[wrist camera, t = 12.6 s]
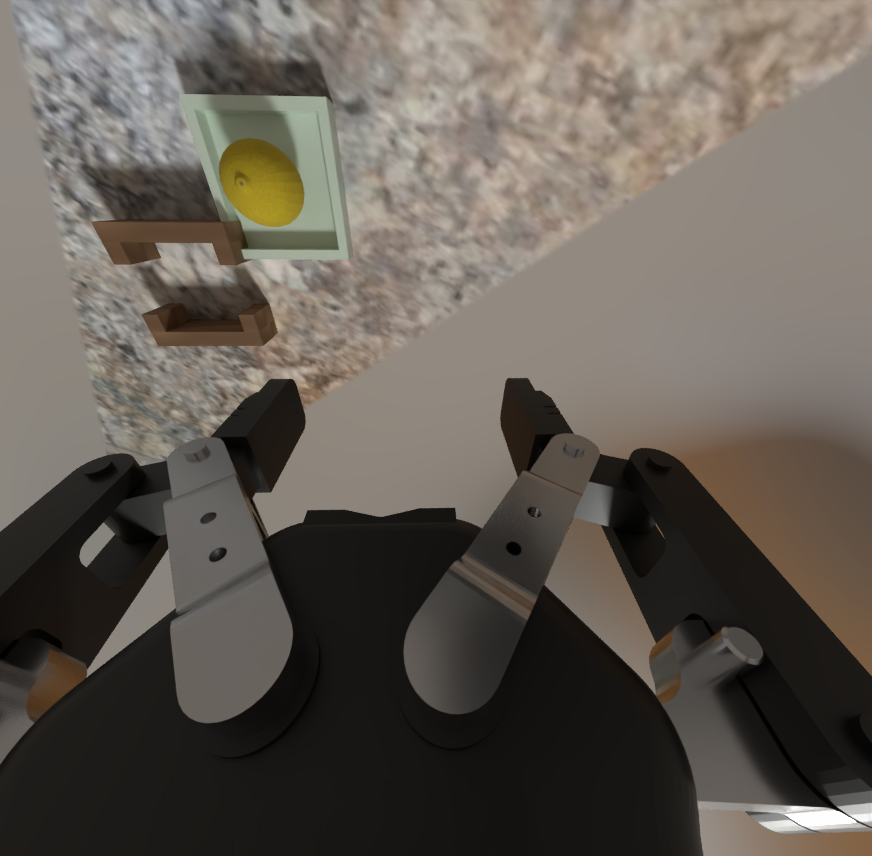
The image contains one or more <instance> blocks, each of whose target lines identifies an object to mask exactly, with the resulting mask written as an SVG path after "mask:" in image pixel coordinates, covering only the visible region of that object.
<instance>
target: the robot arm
mask: <svg viewBox="0 0 872 856" xmlns="http://www.w3.org/2000/svg"><path fill="white" fill-rule="evenodd" d="M500 419H501V420H500V421H501V428H502V431H503V434H504V437H505V440H506V443H507V446H508V449H509V452H510V455H511V458H512V461H513V464H514V467H515V470H516V473H517V476H518V478H517V480H516V481H515V483H514V484H513V486H512V487H511V489H510V490H509V491H508V493H507V494H506V496H505V497H504V498H503V500H502V502H501V503H500V504H499V506H498V507H497V508H496V510H495V511H494V513H493V514H492V515H491V517H490V518H489V520H488V521H487V523H486V524H485V525H484V527H483V528H480V527H478V526H476V525H474V524H472V523H469V522H466V521H462V520H458V519H456V512H455V508H419V509H415V510H411V511H406V512H402V513H398V514H393V515H389V516H384V517H376V516H372V515H367V514H362V513H357V512H352V511H348V510H308V511H307V513H306V516H305V519H304V522H303V523H299V524H296V525H293V526H290V527H287V528H285V529H283V530H280V531H278V532H277V533H275V534H273V535H271V536H270V537H269V535H268V533H267V530H266V528H265V525H264V523H263V521H262V519H261V516H260V514H259V511H258V509H257V507H256V504H255V502H254V500H253V499H252V498H253V496H254V495H255V493H262V492H272V489H273V488H274V486H275V483H276V482H277V480H278V478H279V476H280V474H281V472H282V471H283V469H284V467H285V465H286V463H287V461H288V459H289V457H290V455H291V453H292V452H293V450H294V448H295V446H296V444H297V442H298V440H299V438H300V436H301V435H302V433H303V431H304V428H305V413H304V410H303V406H302V403H301V399H300V396H299V393H298V389H297V386H296V383H295V381H294V380H293V379H270V380H269V381H268V382H267V383H266V384H265V385H264V387H263V388H262V389H261V390H260V391H259V392H256V393H254V394H253V395H251V396H249V397H248V398H246V399H244V401H243V402H242V403H241V404H240V405H239V406H238V407H237V410H234V412H233V413H232V414H231V417H228V418H227V419H226V420H225V422H224V423H223V424H222V425H221V426H220V427H219V428H218V429H217V430H216V432H215V433H214V434H213V435H212V436H211V437H205V438H199V439H195V440H192V441H190V442H187V443H185V444H183V445H181V446H179V447H178V448H176V449H175V450H174V451H173V452H172V453H171V454H170V455H169V456H168V458H167V461H164V462H159V463H154V464H149V465H144V466H140V465H139V464H138V463H137V461H136V460H135V459H134V458H133V456H131V455H129V454H112V455H107V456H104V457H101V458H98V459H95V460H92V461H90V462H88V463H86V464H84V465H82V466H81V467H79V468H77V469H76V470H75V471H73V472H72V473H71V474H70V475H68V476H67V477H66V478H65V479H64V480H62V481H61V482H60V483H59V484H58V485H56V486H55V487H54V488H53V489H52V490H50V491H49V492H48V493H47V494H45V495H44V496H43V497H42V498H41V499H39V500H38V501H37V502H36V503H35V504H34V505H32V506H31V507H30V508H29V509H28V510H26V511H25V512H24V513H23V514H21V515H20V516H19V517H18V518H17V519H15V520H14V521H13V522H12V523H11V524H9V525H8V526H7V527H6V528H4V529H3V530H2V531H1V532H0V856H703V850H702V844H701V837H700V824H699V812H698V809H714V810H733V811H734V810H735V811H745V812H746V813H747V814H748V815H750V816H751V817H752V818H753V819H755V820H756V821H757V822H758V823H760V824H761V825H763V826H765V827H766V828H768V829H770V830H772V831H775V832H778V833H782V834H808V833H832V832H858V831H872V676H871V675H870V674H869V673H868V672H867V671H866V669H865V668H864V667H863V666H862V665H861V664H860V663H859V661H858V660H857V659H856V658H855V657H854V656H853V655H852V654H851V653H850V651H849V650H848V649H847V648H846V647H845V646H844V645H843V643H842V642H841V641H840V640H839V639H838V638H837V637H836V636H835V634H834V633H833V632H832V631H831V630H830V629H829V628H828V627H827V626H826V624H825V623H824V622H823V621H822V620H821V619H820V618H819V616H818V615H817V614H816V613H815V612H814V611H813V610H812V609H811V607H810V606H809V605H808V604H807V603H806V602H805V601H804V600H803V599H802V597H801V596H800V595H799V594H798V593H797V592H796V590H795V589H794V588H793V587H792V586H791V585H790V584H789V583H788V581H787V580H786V579H785V578H784V577H783V576H782V575H781V574H780V573H779V571H778V570H777V569H776V568H775V567H774V566H773V565H772V563H771V562H770V561H769V560H768V559H767V558H766V557H765V556H764V554H763V553H762V552H761V551H760V550H759V549H758V548H757V547H756V545H755V544H754V543H753V542H752V541H751V540H750V539H749V538H748V536H747V535H746V534H745V533H744V532H743V531H742V530H741V529H740V527H739V526H738V525H737V524H736V523H735V522H734V521H733V520H732V518H731V517H730V516H729V515H728V514H727V513H726V512H725V511H724V509H723V508H722V507H721V506H720V505H719V504H718V503H717V501H716V500H715V499H714V498H713V497H712V496H711V495H710V494H709V493H708V491H707V490H706V489H705V488H704V487H703V486H702V485H701V483H699V481H698V480H697V479H696V478H695V477H694V476H693V474H692V473H691V472H690V471H689V470H688V469H687V468H686V467H685V465H684V464H683V463H681V462H680V461H679V460H678V459H676V458H675V457H673V456H671V455H669V454H667V453H665V452H662V451H660V450H656V449H651V448H640V449H637V450H634V451H633V452H632V454H631V455H630V457H629V460H625V459H620V458H615V457H611V456H606V455H602V454H600V451H599V449H598V447H597V446H596V445H595V444H594V443H593V442H592V441H590V440H588V439H587V438H585V437H582V436H579V435H575V434H574V433H573V432H572V430H571V428H570V427H569V425H568V424H567V422H566V421H565V419H564V417H563V416H562V414H560V411H559V410H558V408H556V405H555V403H554V402H553V400H552V398H551V397H549V396H548V395H546V394H545V393H544V392H542V391H535V390H534V388H533V386H532V384H531V383H530V381H529V380H528V378H508V379H507V380H506V383H505V389H504V396H503V402H502V409H501V417H500ZM573 518H577V519H580V520H585V521H588V522H593V523H597V524H600V525H601V526H602V528H603V530H604V532H605V535H606V537H607V539H608V541H609V543H610V545H611V548H612V549H613V552H614V554H615V556H616V558H617V561H618V563H619V564H620V567H621V569H622V571H623V573H624V575H625V578H626V580H627V582H628V584H629V586H630V588H631V590H632V593H633V595H634V597H635V599H636V601H637V603H638V605H639V607H640V610H641V612H642V614H643V616H644V618H645V620H646V623H647V624H648V627H649V629H650V631H651V633H652V635H653V637H654V640H655V642H656V644H655V645H654V646H653V647H652V649H651V651H650V656H649V664H650V670H651V673H652V676H653V679H654V683H655V689H656V695H655V694H654V693H653V691H652V690H651V689H650V688H649V686H648V685H647V684H646V683H645V682H644V681H643V680H642V679H641V678H640V676H639V675H638V674H637V673H636V672H635V671H634V670H633V669H632V668H631V667H629V666H628V665H627V664H626V663H625V662H624V661H623V660H622V659H621V658H620V657H619V656H618V655H617V654H616V653H615V652H614V651H613V650H612V649H611V648H610V647H609V646H608V645H607V644H605V643H604V642H603V641H602V640H601V639H600V638H599V637H598V636H597V635H596V634H595V633H594V632H593V631H592V630H591V629H590V628H589V627H588V626H587V625H586V624H585V623H584V622H583V621H581V620H580V619H579V618H578V617H577V616H576V615H575V614H574V613H573V612H572V611H571V610H570V609H569V608H568V607H567V606H566V605H565V604H564V603H563V602H562V601H561V600H560V599H558V598H557V597H556V596H555V595H554V594H553V593H552V592H551V591H550V590H549V589H548V588H547V587H546V586H545V585H544V584H545V582H546V579H547V577H548V575H549V572H550V570H551V568H552V566H553V563H554V561H555V559H556V556H557V554H558V552H559V549H560V547H561V545H562V542H563V540H564V538H565V536H566V533H567V531H568V529H569V526H570V524H571V522H572V520H573ZM103 522H104V523H105V524H106V525H107V526H108V527H109V528H110V529H111V530H112V531H113V532H114V533H115V535H114V536H113V537H112V539H111V540H110V541H109V542H108V543H107V544H106V546H105V547H104V548H103V549H102V550H101V551H100V553H99V554H98V555H97V556H96V557H95V558H94V560H93V561H92V562H91V563H90V564H89V565H88V567H87V568H86V567H85V566H84V565H83V564H82V563H81V562H80V558H79V555H80V550H81V548H82V546H83V544H84V543H85V541H86V540H87V539H88V538H89V537H90V536H91V535H92V534H93V533H94V532H95V531H96V530H97V529H98V527H99V526H100V525H101V524H102V523H103ZM655 524H657V525H658V527H659V528H660V530H661V532H662V533H663V535H664V538H665V539H664V538H663V536H662V535H661V533H660V532H659V530H658V529H657V527H656V525H655ZM168 548H169V555H170V564H171V572H172V579H173V588H174V596H175V604H176V609H174V610H173V611H172V612H170V613H169V614H168V615H167V616H165V617H164V618H163V619H161V620H160V621H159V622H158V623H156V624H155V625H154V626H152V627H151V628H150V629H149V630H147V631H146V632H145V633H144V634H142V635H141V636H140V637H138V638H137V639H136V640H134V641H133V642H132V643H131V644H129V645H128V646H127V647H126V648H124V649H123V650H122V651H120V652H119V653H118V654H116V655H115V656H114V657H113V658H111V659H110V660H109V661H107V662H106V663H105V664H104V665H102V666H101V667H100V668H99V669H97V670H96V671H95V672H93V673H92V674H91V675H90V676H88V677H87V678H86V676H87V669H88V668H89V666H90V665H91V663H92V662H93V660H94V659H95V657H96V656H97V654H98V653H99V651H100V650H101V648H102V647H103V645H104V644H105V642H106V641H107V639H108V638H109V636H110V635H111V633H112V632H113V630H114V629H115V627H116V626H117V624H118V623H119V621H120V620H121V618H122V617H123V615H124V614H125V612H126V611H127V609H128V608H129V606H130V605H131V603H132V602H133V600H134V599H135V597H136V596H137V594H138V593H139V591H140V590H141V588H142V587H143V585H144V584H145V582H146V581H147V579H148V578H149V576H150V575H151V573H152V572H153V570H154V569H155V567H156V566H157V564H158V563H159V561H160V560H161V558H162V557H163V555H164V554H165V552H166V551H167V550H168Z"/></svg>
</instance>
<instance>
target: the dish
mask: <svg viewBox="0 0 872 856" xmlns="http://www.w3.org/2000/svg"><path fill="white" fill-rule="evenodd" d="M178 95H179V98H180V101H181V104H182V107H183V109H184V112H185V115H186V118H187V121H188V124H189V127H190V130H191V133H192V136H193V139H194V142H195V145H196V148H197V151H198V154H199V157H200V160H201V163H202V166H203V169H204V172H205V175H206V178H207V181H208V184H209V187H210V190H211V193H212V196H213V199H214V202H215V205H216V208H217V211H218V214H219V217H220V220H221V222H232V221H241V225H242V228H243V231H244V234H245V238H246V241H247V244H248V248H245V249H241V250H242V253H243V257H244V259H332V260H349V259H350V258H351V257H353V250H352V243H351V235H350V228H349V220H348V213H347V205H346V197H345V190H344V182H343V175H342V167H341V160H340V152H339V145H338V137H337V129H336V122H335V114H334V107H333V104H332V103H331V101H330V100H329V99H328V98H327V97H313V96H261V95H209V94H178ZM246 138H253V139H259V140H264V141H266V142H268V143H270V144H272V145H274V146H276V147H277V148H278V149H280V150H281V151H282V152H283V153H285V154H286V155H287V156H288V158H289V159H290V160H291V161H292V162H293V164H294V165H295V167H296V169H297V170H298V172H299V174H300V177H301V180H302V182H303V187H304V204H303V207H302V211H301V212H300V214H299V215H298V217H297V218H296V219H295V220H294V221H293V222H291V223H290V224H288V225H285V226H282V227H267V226H264V225H260V224H257V223H255V222H253V221H251V220H249V219H248V218H246V217H245V216H243V215H242V214H241V213H240V212H239V211H237V209H236V208H235V207H234V206H233V205H232V204H231V202H230V201H229V199H228V198H227V196H226V194H225V193H224V190H223V187H222V185H221V182H220V176H219V162H220V159H221V156H222V153H223V152H224V151H225V149H226V148H227V147H228V146H229V145H230V144H232V143H233V142H235V141H237V140H240V139H246Z"/></svg>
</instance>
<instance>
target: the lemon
mask: <svg viewBox="0 0 872 856" xmlns="http://www.w3.org/2000/svg"><path fill="white" fill-rule="evenodd" d="M219 176H220V182H221V185H222V187H223V190H224V193H225V194H226V196H227V198H228V199H229V201H230V202H231V204H232V205H233V206H234V207H235V208H236V209H237V211H239V212H240V213H241V214H242V215H243V216H245V217H246V218H248V219H249V220H251V221H253V222H255V223H257V224H260V225H264V226H267V227H282V226H285V225H288V224H290V223H291V222H293V221H294V220H295V219H296V218H297V217H298V215H299V214H300V212H301V211H302V207H303V204H304V187H303V182H302V180H301V177H300V174H299V172H298V170H297V169H296V167H295V165H294V164H293V162H292V161H291V160H290V159H289V158H288V156H287V155H286V154H285V153H283V152H282V151H281V150H280V149H278V148H277V147H276V146H274V145H272V144H270V143H268V142H266V141H264V140H259V139H253V138H246V139H240V140H237V141H235V142H233V143H232V144H230V145H229V146H228V147H227V148H226V149H225V151H224V152H223V153H222V156H221V159H220V162H219Z"/></svg>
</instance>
